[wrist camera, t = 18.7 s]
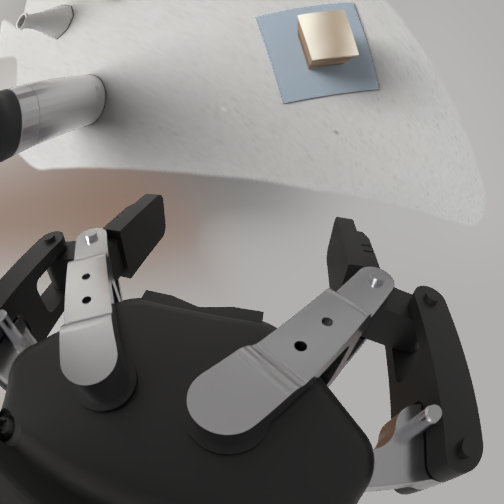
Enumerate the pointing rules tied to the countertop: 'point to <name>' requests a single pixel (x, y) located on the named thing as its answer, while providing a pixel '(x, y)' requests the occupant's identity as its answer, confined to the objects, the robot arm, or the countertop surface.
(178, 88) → the countertop surface
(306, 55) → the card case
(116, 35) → the countertop surface
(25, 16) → the flask
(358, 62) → the mat
